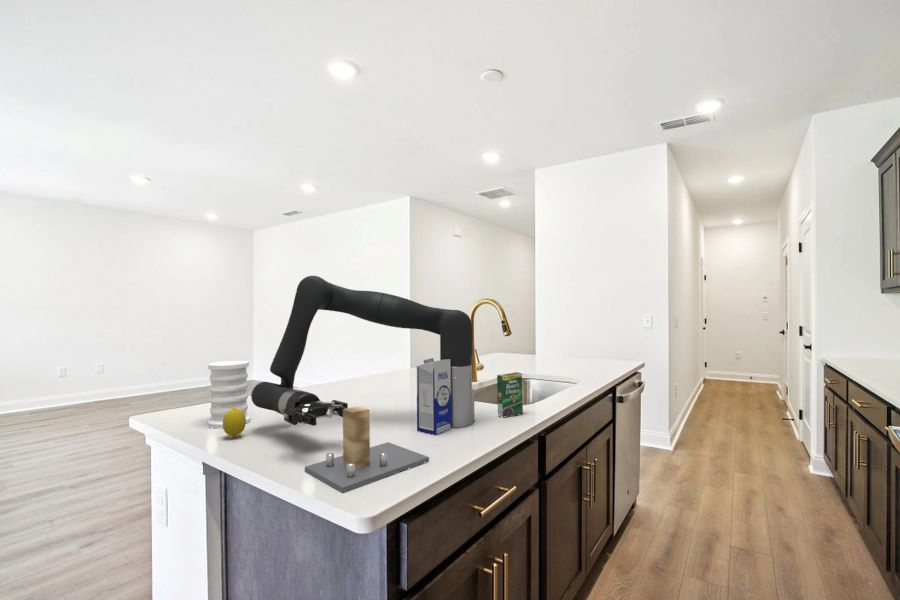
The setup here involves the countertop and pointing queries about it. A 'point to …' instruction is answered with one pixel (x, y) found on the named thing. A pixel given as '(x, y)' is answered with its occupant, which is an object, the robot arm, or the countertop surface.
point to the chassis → (382, 465)
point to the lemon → (234, 422)
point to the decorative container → (227, 390)
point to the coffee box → (510, 394)
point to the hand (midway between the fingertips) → (332, 417)
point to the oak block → (356, 436)
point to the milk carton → (434, 396)
